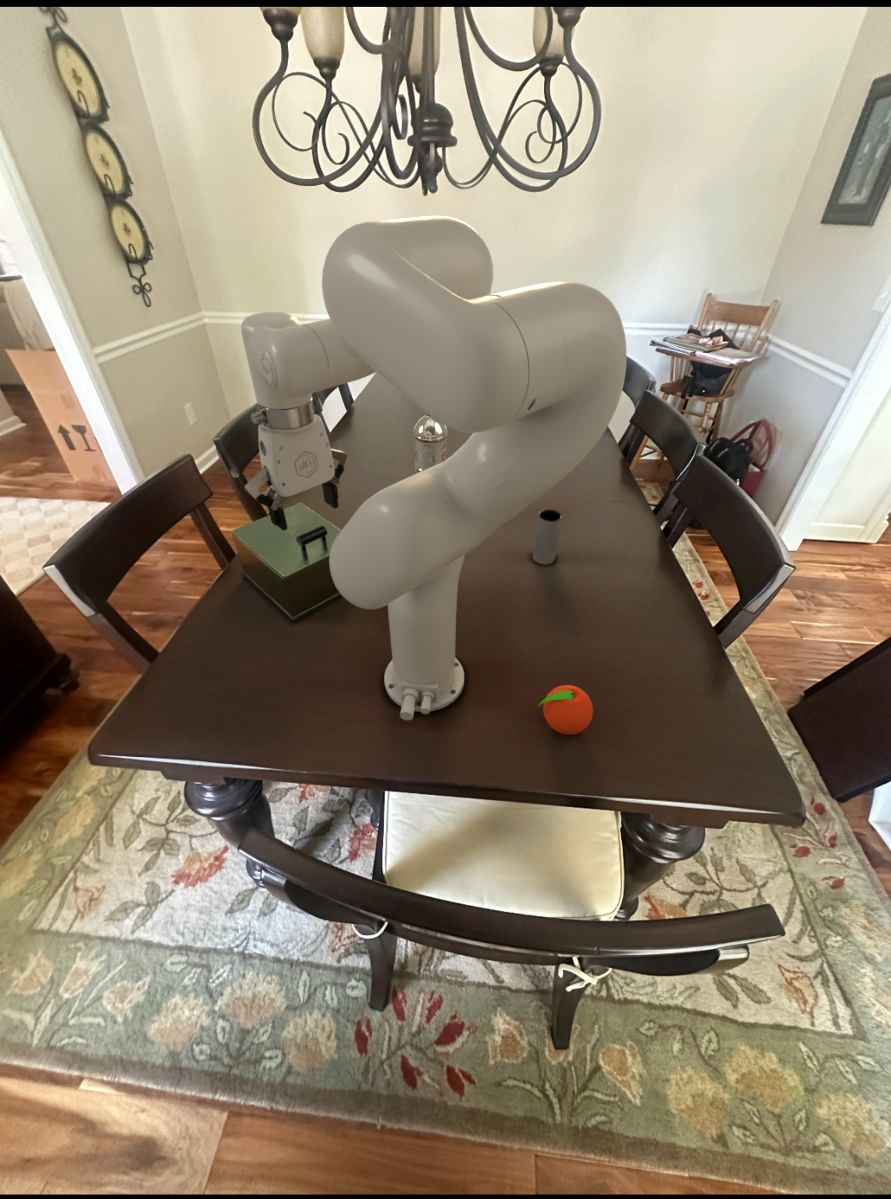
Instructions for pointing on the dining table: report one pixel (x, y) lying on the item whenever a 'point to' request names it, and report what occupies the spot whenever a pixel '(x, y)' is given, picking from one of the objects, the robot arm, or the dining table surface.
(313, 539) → the lid
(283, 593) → the open green keepsake box
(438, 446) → the water bottle
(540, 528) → the grey cylinder
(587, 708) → the clementine
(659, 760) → the dining table surface
